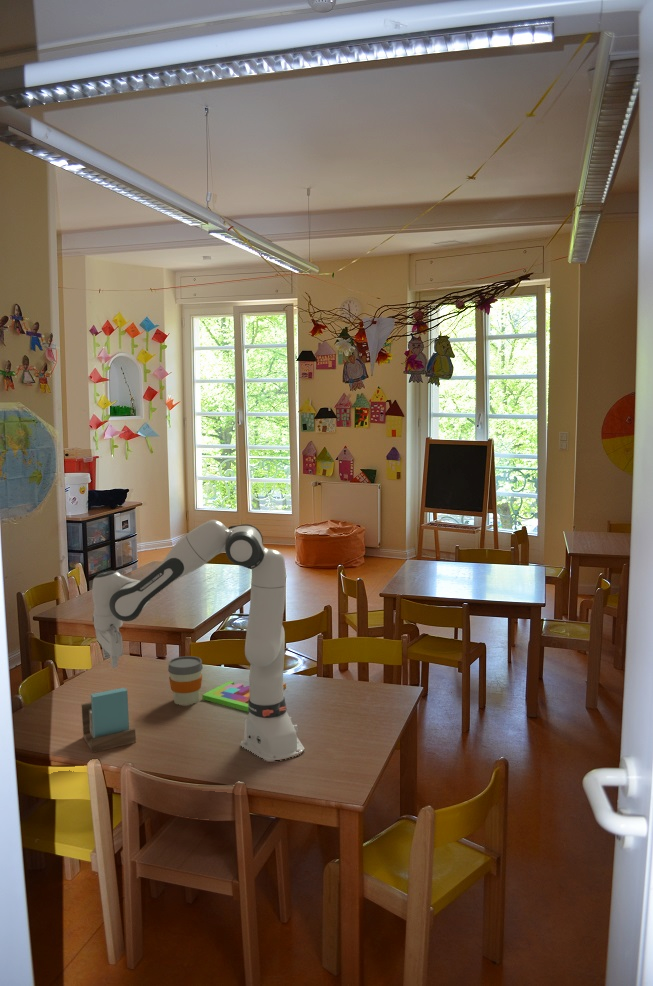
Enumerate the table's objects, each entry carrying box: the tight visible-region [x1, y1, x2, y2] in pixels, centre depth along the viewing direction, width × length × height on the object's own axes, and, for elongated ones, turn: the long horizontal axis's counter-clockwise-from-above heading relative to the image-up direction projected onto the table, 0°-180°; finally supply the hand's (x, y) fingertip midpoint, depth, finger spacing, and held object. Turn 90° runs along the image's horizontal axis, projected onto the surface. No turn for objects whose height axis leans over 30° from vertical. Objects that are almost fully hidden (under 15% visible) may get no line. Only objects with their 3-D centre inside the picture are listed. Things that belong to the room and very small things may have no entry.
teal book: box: [90, 687, 130, 738], centre depth 251 cm, size 3×11×16 cm, turn 120°
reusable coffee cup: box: [167, 655, 203, 706], centre depth 286 cm, size 13×13×15 cm
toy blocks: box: [202, 680, 287, 713], centre depth 292 cm, size 23×2×25 cm
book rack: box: [81, 701, 137, 754], centre depth 255 cm, size 13×14×12 cm
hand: (110, 662), depth 250 cm, fingers open, 8 cm apart
